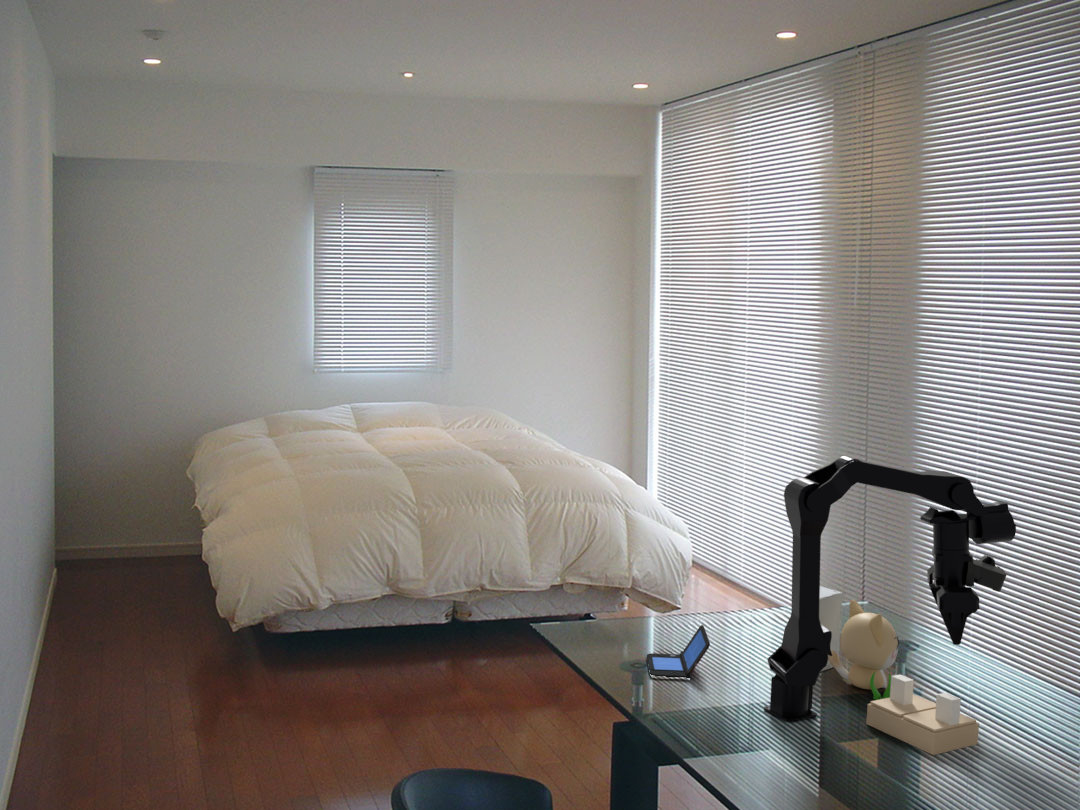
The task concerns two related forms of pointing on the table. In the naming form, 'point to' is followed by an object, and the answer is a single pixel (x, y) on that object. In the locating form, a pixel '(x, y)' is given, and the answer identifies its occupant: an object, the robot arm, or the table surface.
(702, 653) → the handheld game console
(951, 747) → the carton
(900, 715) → the flap far
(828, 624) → the skincare box
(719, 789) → the table surface
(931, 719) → the white block
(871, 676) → the kitten
